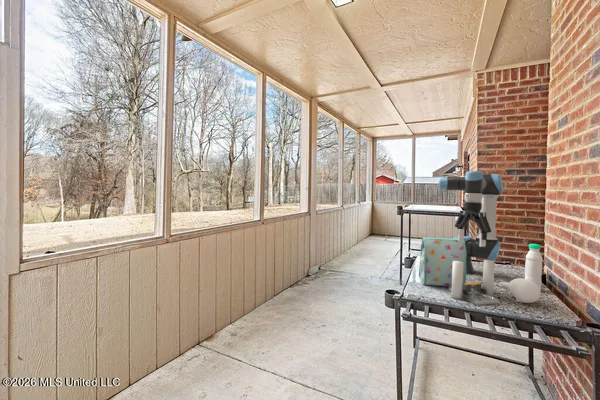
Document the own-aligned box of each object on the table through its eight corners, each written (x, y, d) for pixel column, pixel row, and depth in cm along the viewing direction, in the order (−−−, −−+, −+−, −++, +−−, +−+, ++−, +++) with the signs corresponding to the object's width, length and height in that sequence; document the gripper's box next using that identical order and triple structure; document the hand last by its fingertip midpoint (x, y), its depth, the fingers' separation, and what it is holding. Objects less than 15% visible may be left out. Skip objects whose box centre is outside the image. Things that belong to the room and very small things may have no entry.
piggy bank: (541, 311, 125) (520, 301, 140) (550, 287, 125) (528, 279, 140) (513, 301, 127) (495, 292, 142) (521, 277, 127) (503, 270, 142)
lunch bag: (459, 281, 161) (461, 236, 160) (468, 291, 145) (470, 240, 144) (417, 277, 167) (418, 233, 166) (421, 286, 151) (423, 238, 151)
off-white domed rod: (478, 294, 141) (479, 259, 140) (487, 293, 142) (488, 259, 141) (487, 298, 135) (489, 262, 135) (496, 297, 136) (498, 262, 136)
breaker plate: (448, 291, 145) (449, 283, 145) (468, 289, 147) (468, 282, 147) (476, 305, 127) (476, 296, 127) (498, 303, 129) (498, 295, 129)
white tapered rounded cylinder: (447, 296, 137) (449, 260, 137) (457, 295, 138) (458, 260, 138) (455, 300, 132) (457, 263, 132) (465, 299, 133) (467, 263, 133)
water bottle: (534, 292, 145) (537, 245, 145) (520, 287, 152) (523, 243, 151) (544, 291, 147) (546, 245, 147) (530, 286, 154) (532, 242, 153)
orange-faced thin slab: (463, 291, 137) (464, 283, 137) (478, 290, 138) (479, 282, 138) (465, 292, 135) (466, 284, 135) (481, 291, 137) (481, 283, 137)
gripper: (448, 200, 149) (446, 239, 150) (487, 202, 124) (485, 249, 125) (460, 201, 150) (458, 239, 151) (501, 203, 126) (499, 248, 126)
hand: (471, 243), depth 138 cm, fingers open, 13 cm apart
